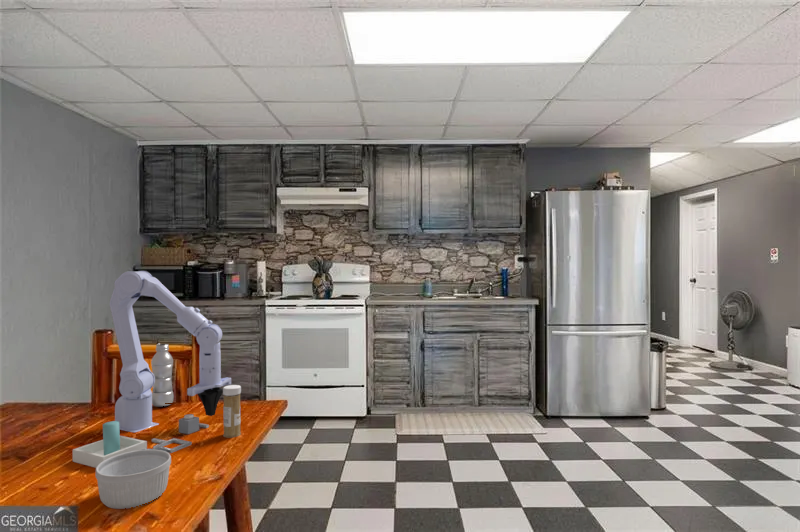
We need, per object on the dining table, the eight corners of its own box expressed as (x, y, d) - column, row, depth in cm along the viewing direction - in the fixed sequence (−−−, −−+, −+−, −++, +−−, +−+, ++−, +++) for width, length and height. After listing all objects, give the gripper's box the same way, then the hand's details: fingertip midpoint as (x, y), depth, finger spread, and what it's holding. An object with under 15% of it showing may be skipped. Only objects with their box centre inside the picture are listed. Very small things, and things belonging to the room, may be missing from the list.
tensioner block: (122, 463, 114) (122, 452, 114) (173, 442, 127) (173, 433, 127) (141, 467, 112) (141, 457, 112) (191, 446, 125) (191, 437, 125)
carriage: (178, 432, 134) (178, 416, 134) (189, 428, 137) (189, 412, 137) (188, 434, 132) (188, 418, 132) (199, 430, 135) (199, 414, 135)
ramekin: (118, 520, 89) (118, 481, 89) (81, 501, 96) (81, 465, 96) (184, 491, 100) (184, 457, 100) (147, 476, 107) (147, 444, 107)
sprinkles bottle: (243, 437, 131) (243, 386, 131) (225, 440, 129) (225, 389, 129) (238, 432, 135) (238, 383, 135) (221, 435, 133) (221, 385, 133)
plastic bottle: (178, 404, 162) (178, 343, 162) (162, 410, 156) (162, 346, 156) (162, 402, 164) (162, 342, 164) (146, 408, 158) (146, 345, 158)
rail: (151, 443, 127) (151, 439, 127) (196, 426, 140) (196, 422, 140) (164, 446, 125) (164, 441, 125) (208, 429, 138) (208, 424, 138)
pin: (100, 456, 117) (99, 425, 116) (112, 451, 120) (111, 420, 120) (111, 458, 116) (110, 426, 115) (123, 452, 119) (122, 421, 119)
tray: (72, 461, 115) (72, 449, 115) (117, 445, 125) (116, 434, 125) (103, 469, 111) (103, 457, 111) (146, 452, 121) (146, 441, 121)
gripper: (200, 373, 133) (200, 424, 133) (239, 364, 146) (239, 409, 146) (181, 371, 136) (181, 420, 136) (221, 362, 149) (221, 406, 149)
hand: (210, 414), depth 141 cm, fingers closed
